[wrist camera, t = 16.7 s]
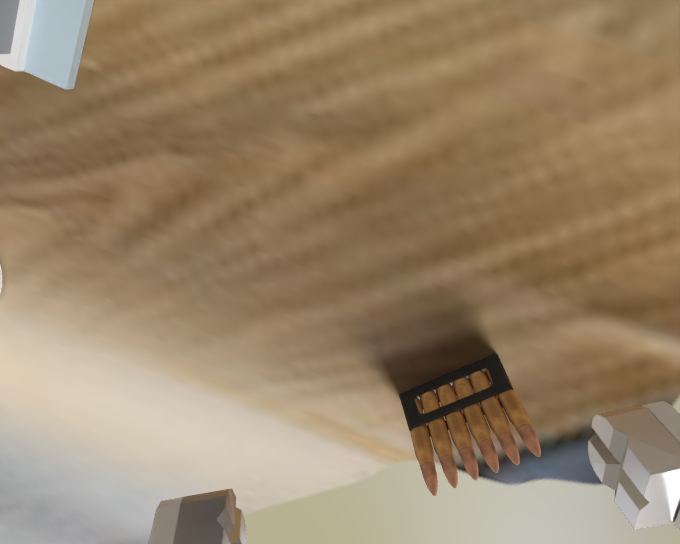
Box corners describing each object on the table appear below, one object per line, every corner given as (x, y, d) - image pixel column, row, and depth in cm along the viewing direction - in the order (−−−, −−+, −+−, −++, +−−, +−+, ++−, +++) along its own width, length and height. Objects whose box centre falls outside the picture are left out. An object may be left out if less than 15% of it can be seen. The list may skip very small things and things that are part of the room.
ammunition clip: (496, 353, 48) (547, 444, 37) (502, 366, 48) (554, 459, 38) (398, 394, 50) (419, 492, 39) (406, 406, 50) (428, 506, 39)
